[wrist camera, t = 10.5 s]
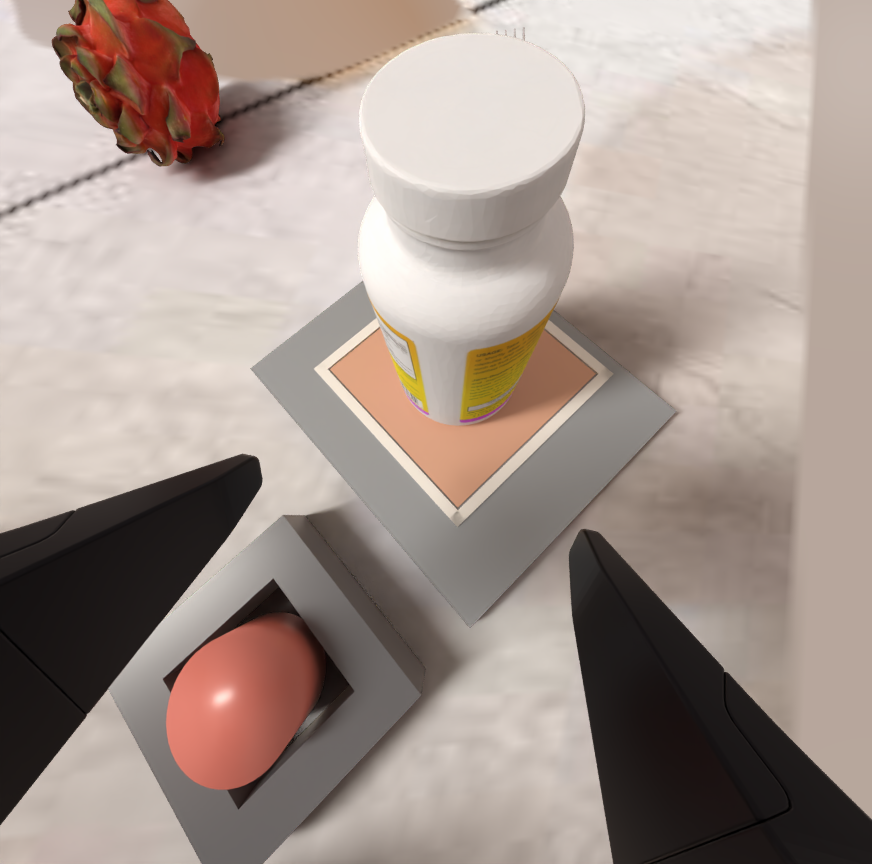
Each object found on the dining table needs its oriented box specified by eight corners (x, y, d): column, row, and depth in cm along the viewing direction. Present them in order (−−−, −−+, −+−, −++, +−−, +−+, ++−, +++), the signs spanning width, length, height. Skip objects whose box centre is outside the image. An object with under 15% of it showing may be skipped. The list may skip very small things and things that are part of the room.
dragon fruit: (176, 223, 26) (226, 138, 31) (218, 149, 21) (270, 62, 26) (13, 110, 20) (106, 27, 25) (17, -30, 15) (133, -102, 20)
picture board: (667, 415, 19) (678, 410, 18) (469, 622, 16) (470, 628, 16) (442, 228, 23) (442, 216, 22) (257, 374, 20) (249, 367, 20)
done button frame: (425, 668, 16) (421, 695, 14) (261, 840, 15) (223, 905, 12) (305, 515, 18) (282, 515, 16) (151, 652, 17) (100, 675, 14)
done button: (347, 675, 15) (323, 713, 12) (259, 763, 14) (211, 826, 11) (284, 588, 16) (248, 604, 13) (200, 666, 15) (142, 701, 12)
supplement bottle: (527, 340, 19) (667, 24, 7) (497, 443, 18) (610, 274, 5) (421, 312, 20) (377, -18, 8) (384, 409, 19) (255, 192, 6)
